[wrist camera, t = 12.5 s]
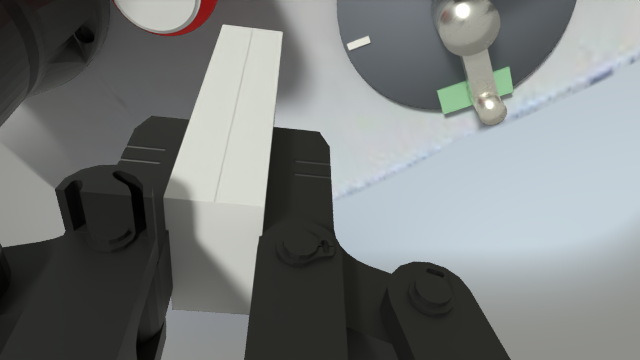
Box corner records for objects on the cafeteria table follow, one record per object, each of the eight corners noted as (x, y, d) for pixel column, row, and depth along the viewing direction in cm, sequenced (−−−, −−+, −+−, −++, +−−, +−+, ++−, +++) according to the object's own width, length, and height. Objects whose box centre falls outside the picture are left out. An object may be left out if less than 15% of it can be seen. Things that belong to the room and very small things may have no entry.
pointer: (424, -6, 37) (436, 18, 33) (478, -29, 36) (497, -7, 32) (456, 102, 43) (470, 133, 39) (503, 85, 42) (522, 115, 38)
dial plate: (376, 129, 46) (377, 136, 45) (300, -71, 35) (300, -66, 34) (581, 62, 42) (588, 68, 41) (566, -186, 31) (574, -184, 30)
